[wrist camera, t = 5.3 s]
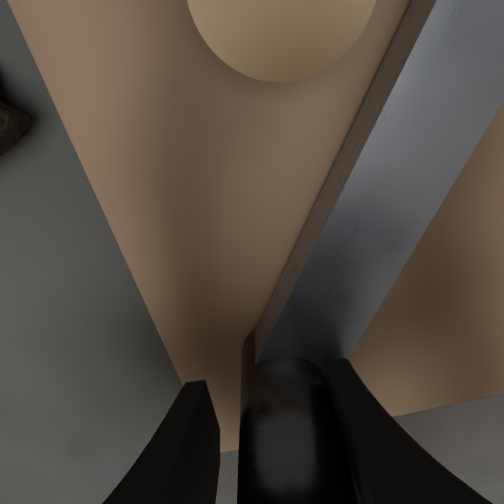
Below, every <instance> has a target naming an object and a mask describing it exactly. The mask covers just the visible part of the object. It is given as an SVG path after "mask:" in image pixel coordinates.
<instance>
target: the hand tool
mask: <svg viewBox="0 0 504 504" xmlns="http://www.w3.org/2000/svg"><path fill="white" fill-rule="evenodd" d="M32 123H33V122H32V119H31V118H30V117H29V116H28V115H27V114H25V113H24V112H22V111H19V110H17V109H14V108H12V107H9V106H6V105H5V104H4V103H3V102H2V101H1V100H0V155H1V154H3V153H4V152H6V151H7V150H9V149H11V148H12V147H14V146H15V142H16V141H17V140H18V139H19V138H20V137H21V136H23V135H24V133H25V131H26V130H27V129H28V127H29V126H30V125H31V124H32Z"/></svg>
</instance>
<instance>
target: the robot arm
mask: <svg viewBox="0 0 504 504" xmlns="http://www.w3.org/2000/svg"><path fill="white" fill-rule="evenodd" d="M325 367H326V374H327V380H328V387H329V391H330V395H331V400H332V404H333V408H334V412H335V416H336V419H337V422H338V425H339V429H340V432H341V436H342V439H343V443H344V447H345V451H346V455H347V459H348V463H349V468H350V472H351V476H352V480H353V484H354V488H355V492H356V497H357V501H358V504H493V503H491V502H490V501H488V500H487V499H485V498H484V497H483V496H481V495H480V494H479V493H477V492H476V491H475V490H473V489H472V488H471V487H469V486H468V485H467V484H465V483H464V482H463V481H461V480H460V479H459V478H458V477H456V476H455V475H454V474H452V473H451V472H450V471H449V470H447V469H446V468H445V467H444V466H443V465H441V464H440V463H439V462H438V461H437V460H436V459H434V458H433V457H432V456H431V455H430V454H429V453H428V452H427V451H425V450H424V449H423V448H422V447H421V446H420V445H419V444H418V443H417V442H416V441H415V440H414V439H413V438H412V437H411V436H410V435H409V434H408V433H407V432H406V431H405V430H404V429H403V428H402V427H401V426H400V425H399V424H398V423H397V422H396V421H395V420H394V419H393V418H392V417H391V416H390V414H389V413H388V412H387V411H386V410H385V409H384V408H383V406H382V405H381V404H380V403H379V402H378V400H377V399H376V398H375V397H374V396H373V394H372V393H371V392H370V391H369V389H368V388H367V387H366V385H365V384H364V383H363V381H362V380H361V378H360V377H359V376H358V374H357V373H356V371H355V370H354V368H353V366H352V365H351V363H350V361H349V360H348V359H346V358H341V359H335V360H328V361H325ZM219 468H220V426H219V423H218V420H217V417H216V413H215V410H214V407H213V404H212V400H211V397H210V394H209V390H208V387H207V384H206V381H205V380H199V381H192V382H186V383H185V384H184V385H183V387H182V389H181V390H180V392H179V394H178V396H177V397H176V399H175V401H174V402H173V404H172V406H171V408H170V409H169V411H168V413H167V414H166V416H165V418H164V419H163V421H162V423H161V424H160V426H159V427H158V429H157V430H156V432H155V434H154V435H153V437H152V438H151V440H150V441H149V443H148V444H147V446H146V447H145V449H144V450H143V452H142V453H141V454H140V456H139V457H138V459H137V460H136V462H135V463H134V464H133V466H132V467H131V469H130V470H129V471H128V473H127V474H126V475H125V476H124V478H123V479H122V480H121V482H120V483H119V484H118V485H117V487H116V488H115V489H114V490H113V492H112V493H111V494H110V495H109V496H108V498H107V499H106V500H105V501H104V502H103V503H102V504H215V501H216V493H217V485H218V476H219Z"/></svg>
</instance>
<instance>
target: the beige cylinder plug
mask: <svg viewBox="0 0 504 504" xmlns="http://www.w3.org/2000/svg"><path fill="white" fill-rule="evenodd" d="M187 2H188V6H189V10H190V12H191V15H192V18H193V20H194V23H195V25H196V27H197V29H198V31H199V32H200V34H201V36H202V37H203V39H204V40H205V42H206V43H207V45H208V46H209V47H210V48H211V49H212V51H213V52H214V53H215V54H216V55H217V56H218V57H219V58H220V59H221V60H222V61H224V62H225V63H226V64H227V65H229V66H230V67H232V68H233V69H235V70H236V71H238V72H240V73H242V74H244V75H246V76H249V77H251V78H254V79H257V80H262V81H267V82H292V81H297V80H301V79H305V78H308V77H310V76H313V75H316V74H318V73H319V72H321V71H323V70H325V69H327V68H328V67H330V66H331V65H332V64H334V63H335V62H337V61H338V60H339V59H340V58H341V57H342V56H343V55H344V54H345V53H346V52H347V51H348V50H349V49H350V48H351V47H352V45H353V44H354V43H355V42H356V40H357V39H358V37H359V36H360V34H361V33H362V31H363V30H364V28H365V26H366V24H367V22H368V20H369V18H370V16H371V13H372V10H373V8H374V5H375V2H376V0H187Z"/></svg>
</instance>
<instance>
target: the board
mask: <svg viewBox="0 0 504 504" xmlns="http://www.w3.org/2000/svg"><path fill="white" fill-rule="evenodd" d="M7 1H8V3H9V5H10V7H11V9H12V12H13V14H14V16H15V18H16V20H17V23H18V25H19V27H20V29H21V31H22V34H23V36H24V38H25V40H26V42H27V45H28V47H29V49H30V51H31V53H32V56H33V58H34V60H35V62H36V64H37V67H38V69H39V71H40V73H41V75H42V78H43V80H44V82H45V84H46V86H47V89H48V91H49V93H50V95H51V97H52V100H53V102H54V104H55V106H56V108H57V111H58V113H59V115H60V117H61V119H62V122H63V124H64V126H65V128H66V130H67V133H68V135H69V137H70V139H71V141H72V144H73V146H74V148H75V150H76V152H77V155H78V157H79V159H80V161H81V163H82V166H83V168H84V170H85V172H86V174H87V177H88V179H89V181H90V183H91V185H92V188H93V190H94V192H95V194H96V196H97V199H98V201H99V203H100V205H101V207H102V210H103V212H104V214H105V216H106V218H107V221H108V223H109V225H110V227H111V229H112V232H113V234H114V236H115V238H116V240H117V243H118V245H119V247H120V249H121V251H122V254H123V256H124V258H125V260H126V262H127V265H128V267H129V269H130V271H131V273H132V276H133V278H134V280H135V282H136V284H137V287H138V289H139V291H140V293H141V295H142V298H143V300H144V302H145V304H146V306H147V309H148V311H149V313H150V315H151V317H152V320H153V322H154V324H155V326H156V328H157V331H158V333H159V335H160V337H161V339H162V342H163V344H164V346H165V348H166V350H167V353H168V355H169V357H170V359H171V362H172V364H173V366H174V368H175V370H176V373H177V375H178V377H179V379H180V381H181V384H182V386H183V385H184V384H185V383H186V382H192V381H199V380H205V381H206V384H207V387H208V390H209V394H210V397H211V400H212V404H213V407H214V410H215V413H216V417H217V420H218V423H219V426H220V453H223V452H227V451H232V450H237V449H239V423H240V390H241V357H242V347H243V344H244V341H245V340H246V338H247V337H248V335H249V334H250V333H251V332H252V331H253V330H255V329H256V328H257V326H258V323H259V321H260V319H261V317H262V315H263V313H264V311H265V309H266V307H267V304H268V302H269V300H270V298H271V296H272V294H273V292H274V290H275V288H276V286H277V283H278V281H279V279H280V277H281V275H282V273H283V271H284V269H285V267H286V265H287V262H288V260H289V258H290V256H291V254H292V252H293V250H294V248H295V246H296V244H297V241H298V239H299V237H300V235H301V233H302V231H303V229H304V227H305V225H306V223H307V220H308V218H309V216H310V214H311V212H312V210H313V208H314V206H315V204H316V201H317V199H318V197H319V195H320V193H321V191H322V189H323V187H324V185H325V183H326V180H327V178H328V176H329V174H330V172H331V170H332V168H333V166H334V164H335V162H336V159H337V157H338V155H339V153H340V151H341V149H342V147H343V145H344V143H345V141H346V138H347V136H348V134H349V132H350V130H351V128H352V126H353V124H354V122H355V120H356V117H357V115H358V113H359V111H360V109H361V107H362V105H363V103H364V101H365V99H366V96H367V94H368V92H369V90H370V88H371V86H372V84H373V82H374V80H375V77H376V75H377V73H378V71H379V69H380V67H381V65H382V63H383V61H384V59H385V56H386V54H387V52H388V50H389V48H390V46H391V44H392V42H393V40H394V38H395V35H396V33H397V31H398V29H399V27H400V25H401V23H402V21H403V19H404V17H405V14H406V12H407V10H408V8H409V6H410V4H411V2H412V0H376V2H375V5H374V8H373V10H372V13H371V16H370V18H369V20H368V22H367V24H366V26H365V28H364V30H363V31H362V33H361V34H360V36H359V37H358V39H357V40H356V42H355V43H354V44H353V45H352V47H351V48H350V49H349V50H348V51H347V52H346V53H345V54H344V55H343V56H342V57H341V58H340V59H339V60H338V61H337V62H335V63H334V64H332V65H331V66H330V67H328V68H327V69H325V70H323V71H321V72H319V73H318V74H316V75H313V76H310V77H308V78H305V79H301V80H297V81H292V82H267V81H262V80H257V79H254V78H251V77H249V76H246V75H244V74H242V73H240V72H238V71H236V70H235V69H233V68H232V67H230V66H229V65H227V64H226V63H225V62H224V61H222V60H221V59H220V58H219V57H218V56H217V55H216V54H215V53H214V52H213V51H212V49H211V48H210V47H209V46H208V45H207V43H206V42H205V40H204V39H203V37H202V36H201V34H200V32H199V31H198V29H197V27H196V25H195V23H194V20H193V18H192V15H191V12H190V10H189V6H188V2H187V0H7ZM348 360H349V361H350V363H351V365H352V366H353V368H354V370H355V371H356V373H357V374H358V376H359V377H360V378H361V380H362V381H363V383H364V384H365V385H366V387H367V388H368V389H369V391H370V392H371V393H372V394H373V396H374V397H375V398H376V399H377V400H378V402H379V403H380V404H381V405H382V406H383V408H384V409H385V410H386V411H387V412H388V413H389V414H390V416H391V417H394V416H399V415H404V414H409V413H413V412H418V411H423V410H428V409H433V408H437V407H442V406H447V405H452V404H456V403H461V402H466V401H471V400H475V399H480V398H485V397H490V396H495V395H499V394H504V101H503V103H502V104H501V106H500V108H499V109H498V111H497V113H496V114H495V116H494V118H493V119H492V121H491V123H490V124H489V126H488V128H487V129H486V131H485V133H484V134H483V136H482V138H481V139H480V141H479V142H478V144H477V146H476V147H475V149H474V151H473V152H472V154H471V156H470V157H469V159H468V161H467V162H466V164H465V166H464V167H463V169H462V171H461V172H460V174H459V176H458V177H457V179H456V181H455V182H454V184H453V186H452V187H451V189H450V191H449V192H448V194H447V196H446V197H445V199H444V201H443V202H442V204H441V206H440V207H439V209H438V210H437V212H436V214H435V215H434V217H433V219H432V220H431V222H430V224H429V225H428V227H427V229H426V230H425V232H424V234H423V235H422V237H421V239H420V240H419V242H418V244H417V245H416V247H415V249H414V250H413V252H412V254H411V255H410V257H409V259H408V260H407V262H406V264H405V265H404V267H403V269H402V270H401V272H400V273H399V275H398V277H397V278H396V280H395V282H394V283H393V285H392V287H391V288H390V290H389V292H388V293H387V295H386V297H385V298H384V300H383V302H382V303H381V305H380V307H379V308H378V310H377V312H376V313H375V315H374V317H373V318H372V320H371V322H370V323H369V325H368V327H367V328H366V330H365V332H364V333H363V335H362V337H361V338H360V340H359V341H358V343H357V345H356V346H355V348H354V350H353V351H352V353H351V355H350V356H349V358H348Z"/></svg>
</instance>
